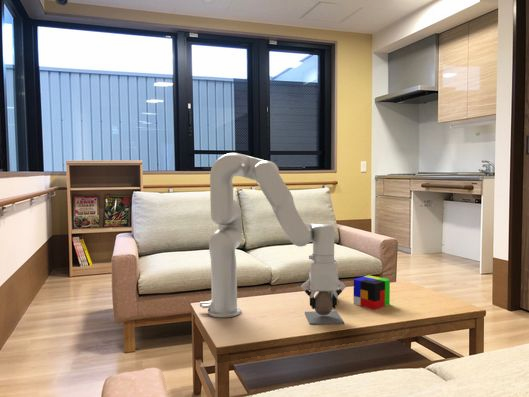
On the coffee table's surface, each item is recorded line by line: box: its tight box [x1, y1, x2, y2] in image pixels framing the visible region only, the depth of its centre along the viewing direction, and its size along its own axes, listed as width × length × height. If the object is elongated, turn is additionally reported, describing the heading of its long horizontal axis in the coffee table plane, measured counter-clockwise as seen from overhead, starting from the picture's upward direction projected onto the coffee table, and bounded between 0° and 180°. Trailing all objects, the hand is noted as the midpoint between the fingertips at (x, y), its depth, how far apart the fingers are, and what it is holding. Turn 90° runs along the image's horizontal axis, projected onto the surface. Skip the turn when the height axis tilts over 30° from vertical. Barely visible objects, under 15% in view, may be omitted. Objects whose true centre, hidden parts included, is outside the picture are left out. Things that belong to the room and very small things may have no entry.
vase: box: [314, 291, 334, 315], centre depth 151 cm, size 7×7×9 cm
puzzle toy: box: [353, 275, 391, 311], centre depth 167 cm, size 10×10×10 cm
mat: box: [304, 310, 345, 326], centre depth 151 cm, size 12×12×1 cm
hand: (323, 307), depth 151 cm, fingers closed on vase, 6 cm apart
